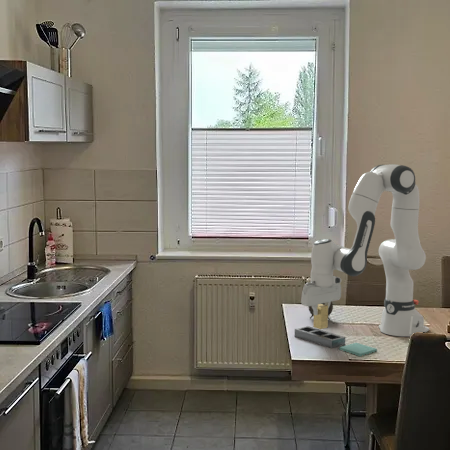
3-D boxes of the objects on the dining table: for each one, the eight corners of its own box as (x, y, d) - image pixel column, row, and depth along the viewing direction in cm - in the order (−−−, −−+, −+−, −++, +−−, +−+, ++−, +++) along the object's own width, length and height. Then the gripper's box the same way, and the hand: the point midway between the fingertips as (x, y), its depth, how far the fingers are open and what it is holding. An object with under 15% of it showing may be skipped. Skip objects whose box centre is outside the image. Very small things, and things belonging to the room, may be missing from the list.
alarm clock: (331, 319, 293) (333, 284, 291) (332, 322, 288) (334, 286, 286) (307, 318, 294) (308, 283, 292) (308, 321, 289) (309, 285, 287)
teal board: (356, 345, 254) (356, 342, 254) (376, 351, 247) (376, 348, 247) (339, 349, 248) (339, 347, 248) (360, 356, 240) (360, 353, 240)
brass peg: (320, 325, 262) (320, 303, 261) (327, 327, 259) (328, 305, 258) (313, 327, 259) (313, 305, 258) (320, 329, 256) (321, 307, 255)
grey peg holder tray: (307, 333, 270) (308, 326, 270) (345, 344, 255) (345, 337, 254) (294, 336, 265) (294, 329, 264) (331, 348, 250) (332, 340, 249)
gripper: (309, 284, 248) (308, 319, 250) (344, 278, 261) (343, 311, 263) (297, 281, 253) (297, 316, 254) (332, 275, 266) (331, 308, 267)
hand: (320, 313), depth 259 cm, fingers closed on brass peg, 4 cm apart
